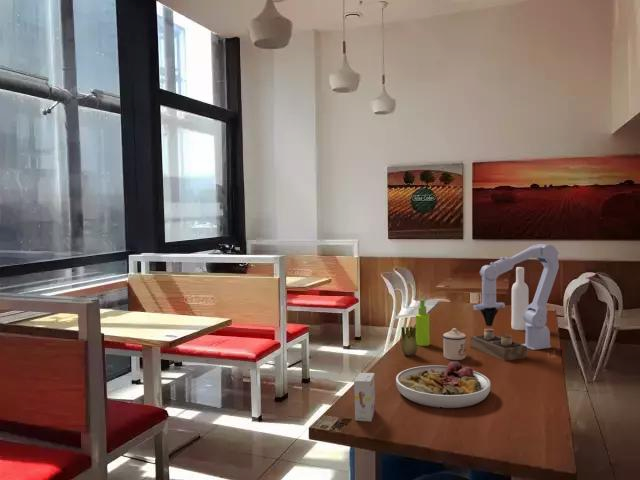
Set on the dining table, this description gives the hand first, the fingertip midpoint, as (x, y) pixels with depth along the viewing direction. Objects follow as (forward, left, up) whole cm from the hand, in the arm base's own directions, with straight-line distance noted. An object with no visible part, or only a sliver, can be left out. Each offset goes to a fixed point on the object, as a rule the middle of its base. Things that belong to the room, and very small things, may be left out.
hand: (489, 325), depth 225 cm
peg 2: (0, +11, -7) cm, 13 cm away
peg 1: (0, 0, -7) cm, 7 cm away
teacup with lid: (+19, +3, -10) cm, 22 cm away
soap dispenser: (+21, -19, -10) cm, 30 cm away
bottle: (-36, -24, -10) cm, 44 cm away
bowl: (+47, +37, -10) cm, 61 cm away
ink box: (+78, +44, -10) cm, 90 cm away
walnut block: (0, +5, -10) cm, 11 cm away
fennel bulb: (+35, -6, -10) cm, 37 cm away
